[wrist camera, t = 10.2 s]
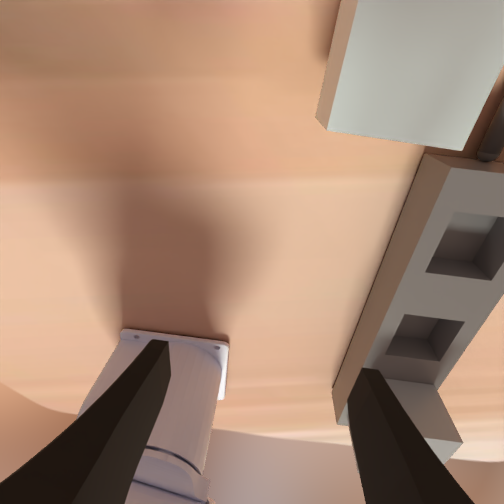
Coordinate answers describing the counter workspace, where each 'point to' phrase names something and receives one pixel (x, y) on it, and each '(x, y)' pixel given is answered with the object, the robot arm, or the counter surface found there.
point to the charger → (412, 69)
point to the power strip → (433, 287)
